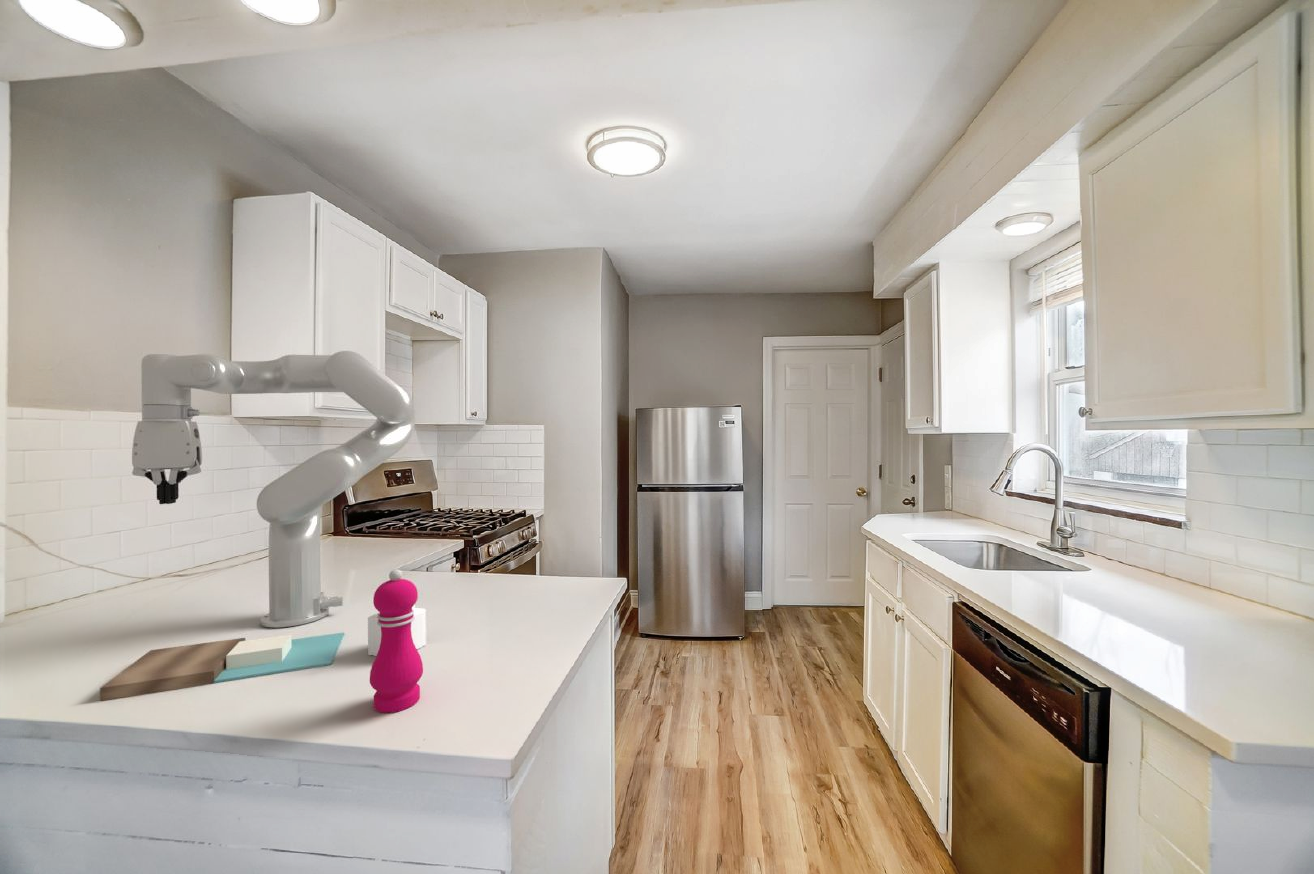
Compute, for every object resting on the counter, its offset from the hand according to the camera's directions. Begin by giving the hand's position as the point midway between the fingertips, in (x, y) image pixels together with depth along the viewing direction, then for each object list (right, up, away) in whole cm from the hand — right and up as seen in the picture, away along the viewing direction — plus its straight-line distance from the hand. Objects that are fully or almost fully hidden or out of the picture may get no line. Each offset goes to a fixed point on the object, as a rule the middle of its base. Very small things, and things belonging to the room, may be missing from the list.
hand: (167, 503), depth 109 cm
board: (+19, -27, -18) cm, 38 cm away
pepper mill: (+62, -26, -30) cm, 74 cm away
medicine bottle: (+53, -27, -10) cm, 60 cm away
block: (+29, -25, -14) cm, 41 cm away
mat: (+33, -27, -12) cm, 44 cm away
